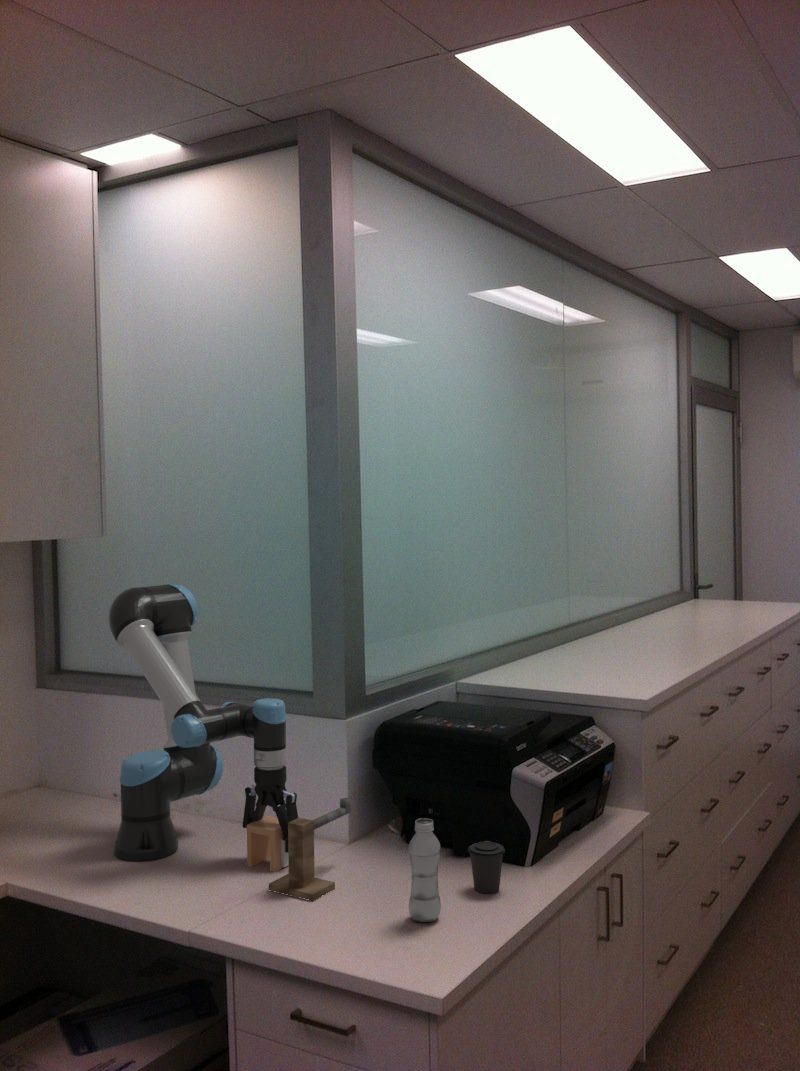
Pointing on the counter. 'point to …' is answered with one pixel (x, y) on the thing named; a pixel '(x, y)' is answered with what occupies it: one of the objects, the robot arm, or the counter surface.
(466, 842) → the battery
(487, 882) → the coffee cup
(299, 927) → the counter surface
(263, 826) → the tan square cardboard-colored block
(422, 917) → the plastic bottle
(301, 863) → the hook stand
